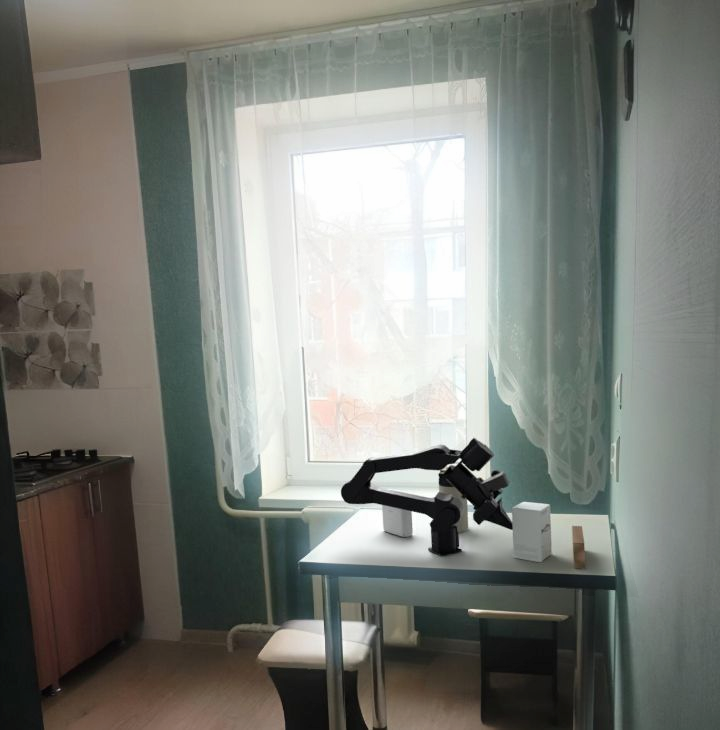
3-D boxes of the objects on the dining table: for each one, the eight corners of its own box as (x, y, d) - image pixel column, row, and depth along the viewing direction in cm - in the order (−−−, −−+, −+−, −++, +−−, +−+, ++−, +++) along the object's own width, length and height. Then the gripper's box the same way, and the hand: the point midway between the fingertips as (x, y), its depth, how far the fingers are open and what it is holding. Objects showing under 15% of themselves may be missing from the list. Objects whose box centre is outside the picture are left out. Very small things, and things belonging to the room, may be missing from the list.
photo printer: (381, 531, 181) (379, 489, 181) (392, 528, 184) (390, 486, 183) (403, 538, 173) (401, 494, 172) (415, 535, 175) (413, 492, 175)
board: (574, 568, 144) (573, 542, 144) (572, 549, 157) (572, 525, 157) (585, 568, 143) (584, 543, 143) (582, 549, 157) (582, 526, 157)
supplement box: (541, 563, 148) (539, 510, 148) (512, 558, 153) (510, 507, 153) (552, 554, 154) (551, 503, 154) (524, 549, 159) (522, 500, 159)
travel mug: (473, 528, 180) (471, 466, 179) (458, 535, 174) (456, 471, 173) (450, 524, 185) (448, 464, 185) (435, 530, 179) (432, 468, 179)
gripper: (484, 468, 147) (534, 516, 144) (492, 455, 165) (537, 497, 162) (453, 501, 150) (501, 548, 147) (464, 484, 168) (507, 526, 164)
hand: (513, 528), depth 155 cm, fingers closed
